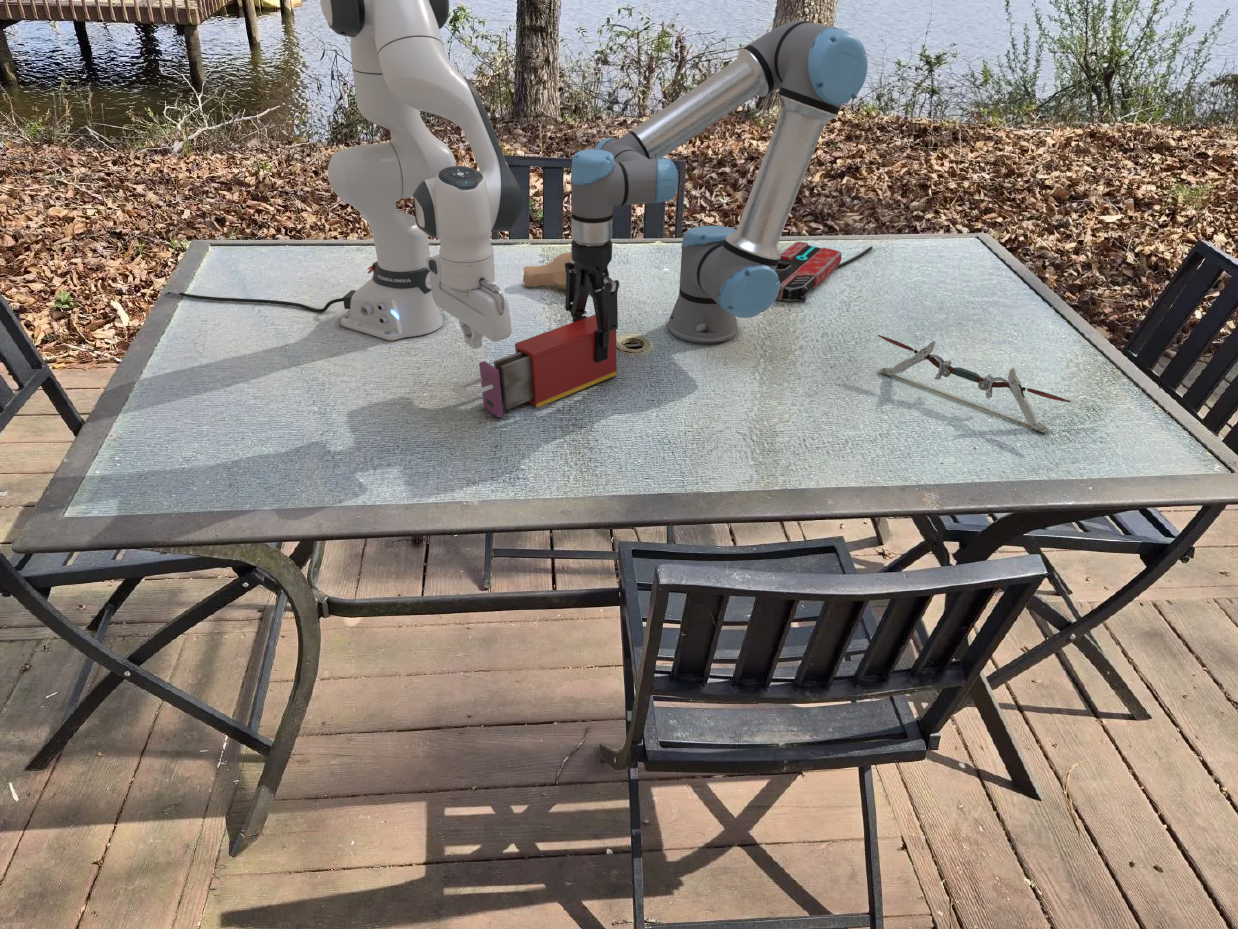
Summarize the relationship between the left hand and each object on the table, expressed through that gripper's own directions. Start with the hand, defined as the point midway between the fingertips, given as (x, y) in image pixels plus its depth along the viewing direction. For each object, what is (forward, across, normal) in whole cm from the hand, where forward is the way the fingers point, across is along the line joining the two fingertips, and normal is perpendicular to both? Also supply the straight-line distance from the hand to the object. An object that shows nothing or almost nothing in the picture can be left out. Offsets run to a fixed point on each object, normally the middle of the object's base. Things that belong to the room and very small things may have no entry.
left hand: (473, 345), depth 154 cm
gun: (+15, +12, -100) cm, 102 cm away
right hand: (+10, 0, -26) cm, 28 cm away
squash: (+15, +41, -50) cm, 67 cm away
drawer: (+14, 0, -9) cm, 17 cm away
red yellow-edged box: (+15, 0, -21) cm, 26 cm away
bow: (+15, -51, -78) cm, 95 cm away
